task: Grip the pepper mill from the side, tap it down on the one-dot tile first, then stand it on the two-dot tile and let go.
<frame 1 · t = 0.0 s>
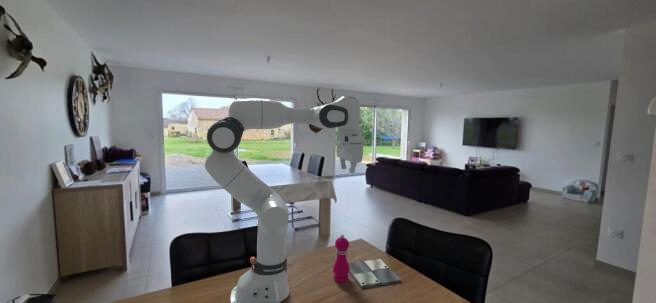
hand: (347, 170, 113), 48 cm above the table, tool pointing down, fingers open, 8 cm apart
tile board: (371, 273, 124), on the table
pepper mill: (340, 279, 119), on the table
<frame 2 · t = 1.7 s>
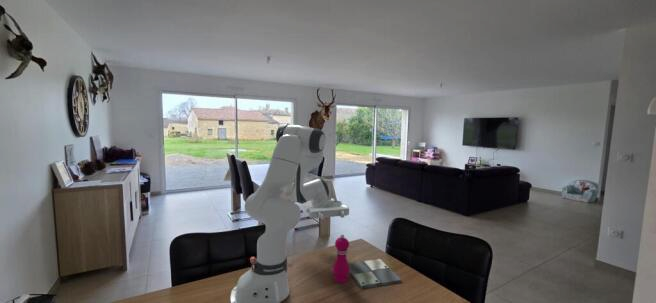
hand: (333, 216, 129), 24 cm above the table, tool horizontal, fingers open, 8 cm apart
nothing on the table moved.
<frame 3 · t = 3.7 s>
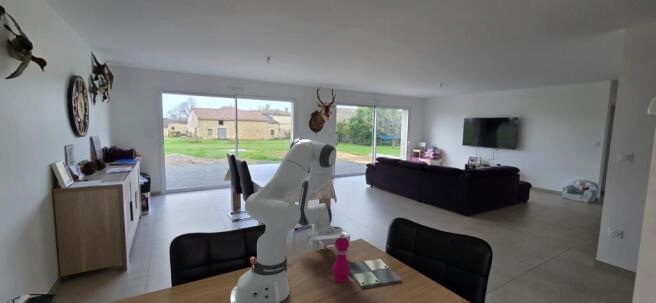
hand: (334, 246, 127), 11 cm above the table, tool horizontal, fingers open, 8 cm apart
nothing on the table moved.
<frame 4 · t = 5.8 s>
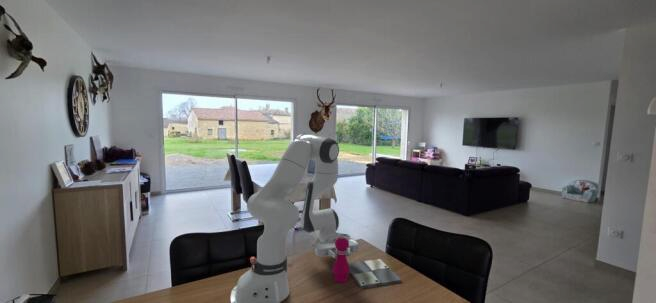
hand: (342, 255, 118), 11 cm above the table, tool horizontal, fingers closed on pepper mill, 5 cm apart
pepper mill: (340, 279, 119), on the table, touching gripper
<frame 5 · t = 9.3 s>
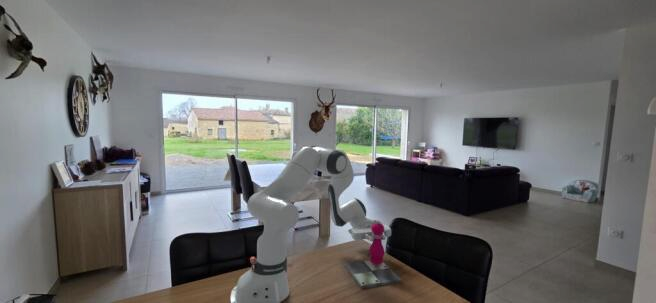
hand: (378, 238, 128), 14 cm above the table, tool horizontal, fingers closed on pepper mill, 5 cm apart
pepper mill: (376, 261, 130), point 3 cm above the table, touching gripper
when the fingers open (13 cm above the table, at t = 12.9 s): pepper mill stays where it is, resting on tile board.
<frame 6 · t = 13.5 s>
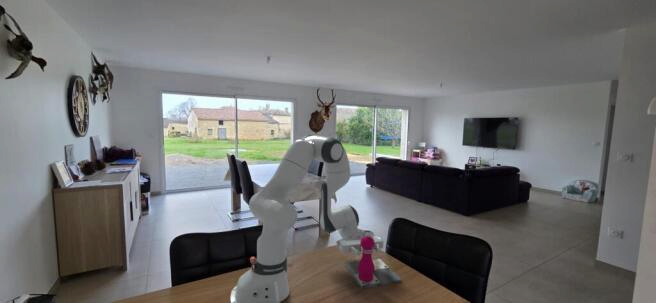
hand: (368, 252, 116), 13 cm above the table, tool horizontal, fingers open, 8 cm apart
pepper mill: (365, 278, 118), point 1 cm above the table, touching tile board
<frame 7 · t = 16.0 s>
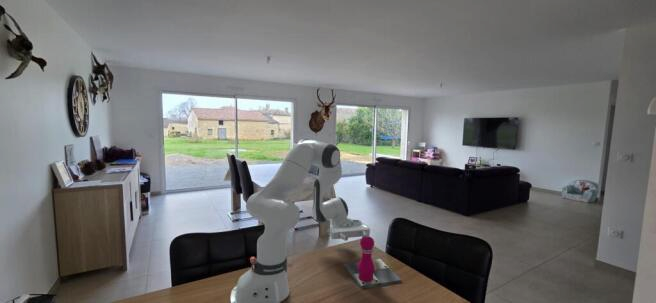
hand: (355, 238, 128), 14 cm above the table, tool horizontal, fingers open, 8 cm apart
nothing on the table moved.
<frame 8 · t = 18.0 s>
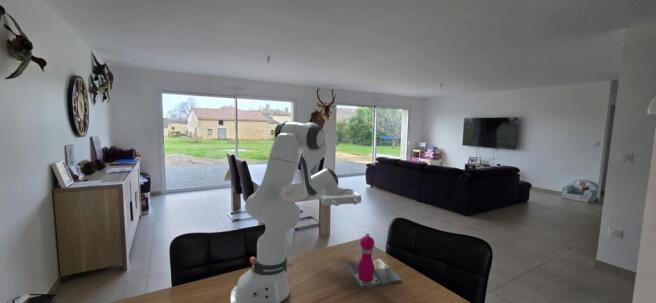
hand: (346, 203, 129), 30 cm above the table, tool horizontal, fingers open, 8 cm apart
nothing on the table moved.
at the end: pepper mill 0.4 cm from the target spot, point 1.0 cm above the table; pepper mill tilted 0°; the gripper is holding nothing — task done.
